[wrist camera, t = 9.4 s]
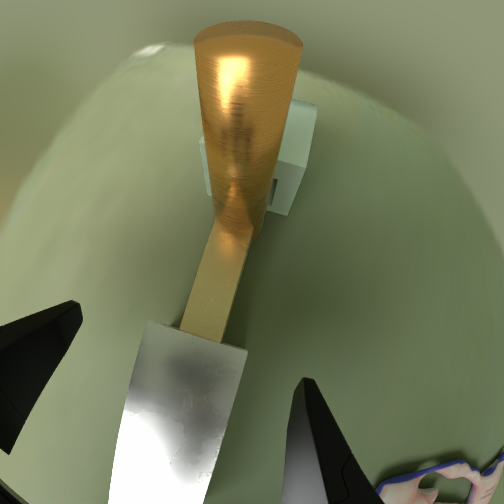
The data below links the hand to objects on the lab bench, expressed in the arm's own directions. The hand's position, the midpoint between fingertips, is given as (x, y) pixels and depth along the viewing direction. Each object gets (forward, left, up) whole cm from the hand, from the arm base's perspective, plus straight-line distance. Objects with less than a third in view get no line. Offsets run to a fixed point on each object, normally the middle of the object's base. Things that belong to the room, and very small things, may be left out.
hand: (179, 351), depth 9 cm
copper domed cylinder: (+3, -4, -7) cm, 8 cm away
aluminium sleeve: (-4, +4, -8) cm, 10 cm away
